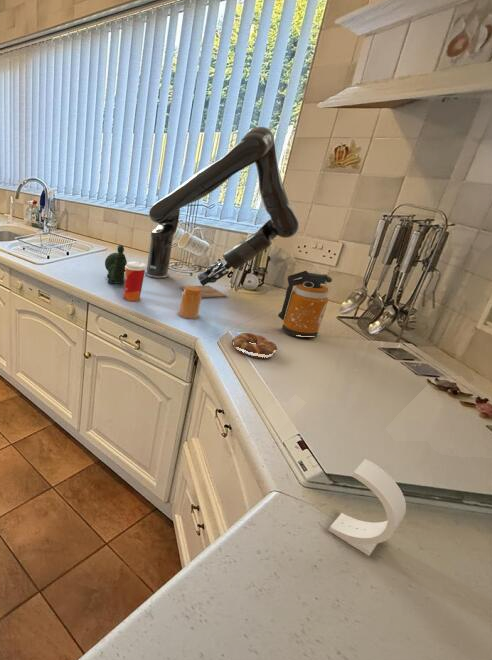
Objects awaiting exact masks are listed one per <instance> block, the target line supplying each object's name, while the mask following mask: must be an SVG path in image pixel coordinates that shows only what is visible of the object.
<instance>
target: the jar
mask: <svg viewBox="0 0 492 660" xmlns="http://www.w3.org/2000/svg"><path fill="white" fill-rule="evenodd" d="M196 286H197V285H186V286H184V287H185V290H182V294H181V300H180V305H179V311H178V316H180V317H182V318H184V319H188V320H192V319H193V320H195V319H197V318H198V317H199V311H200V308H201V301H202V298H201V297H202V293H201V288H199V287H196Z"/></svg>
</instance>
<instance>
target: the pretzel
mask: <svg viewBox="0 0 492 660" xmlns="http://www.w3.org/2000/svg"><path fill="white" fill-rule="evenodd" d="M232 341H233V342H234V345H233V344H232V343H231V345H232V348H234V350H235V351H236V352H238V353H239V354H243V355H246V356H248V357H251V358H256V359H263V358H264V357H263V358H262V357H261V358H259V357H258V356H251V355H248V354H246V353H245V352H244V353H243V352H242V351H239V350H237V349H235V347H239V348H241V349H244V350H246V351H248V352H253V353H258V354H265V355H269V354H272V353H273V351H274V350H277V351H278V347H277V344H276V343H275V342H272V341H269V340H268V339H267V338H265V336H263V335H259V334H254V333H252V332H251V333H250V332H242V333H239V334H236V336H234V338H233V339H232ZM249 342H251V343H256V344H251V343H249ZM234 346H235V347H234ZM264 359H266V360H267V359H268V358H266V357H265V358H264ZM264 359H263V360H264Z"/></svg>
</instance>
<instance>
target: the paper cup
mask: <svg viewBox="0 0 492 660" xmlns="http://www.w3.org/2000/svg"><path fill="white" fill-rule="evenodd" d="M146 269H147V266H146V263H144V262H138V261H128V262H127V264H126V266H125V270H126V271H125V272H124V281H125V283H124V292H123V293H124V295H123V296H124V297H123V298H124V300H125V301H129V302H138V301H140V299H141V298H140V297H141V293H142V287H143V282H144V277H145V274H146Z"/></svg>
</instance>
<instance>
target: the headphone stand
mask: <svg viewBox="0 0 492 660" xmlns="http://www.w3.org/2000/svg"><path fill="white" fill-rule="evenodd" d="M351 477H352V478H353V479H356V480H357V481H359V483H361V484H363V485H364V486H366V488H368V489H369V490H370V491H371V492H372V493H373V494H374V495H375V496H376V497H377V498H378V500H379V501H380V503H381V505H382V506H383V508H384V511H385V513H386V520H385V521H379V522H372V521H371V522H370V521H365V520H360V519H356V518H354V517H351V516H350V515H348V514H346V513H344V512H341V513H340V514H339V515H338V517H336V518H335V520H334V521H333V522H332V524H331V525H330V526H329V527H328V532H330V533H332V534H333V535H334V536H336V537H338V538H340V539H341V540H342V541H344V542H346V543H347V544H349V545H350V546H352V547H354V548H355V549H357V550H358V551H360V552H362V553H364V555H366V556H368V557H370V556H371V554H372V553H373V551H374V550H375V548H376V547H377V545H378V544H380V543H384V542H386V541H388V540H389V539H390V538H391V537H392V536H393V534H394V532H395V531H396V530H397V528H398V527H399V526H400V523H401V522H402V521H403V519H404V517H405V515H406V511H407V503H406V499H405V496H404V493H403V491H402V490H401V488H400V486H399V485H398V483H396V481H395V480H394V479H393V478H392V477H391V476H390V474H389V473H388V472H386V471H385V470H383V469H382V468H381V467H380V466H379V465H376V464H375V463H374V462H372V461H370V460H368V459H367V458H364V460H362V462H361V463H360V464H359V465H358V467H356V469H354V471H353V472H352V474H351Z"/></svg>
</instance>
